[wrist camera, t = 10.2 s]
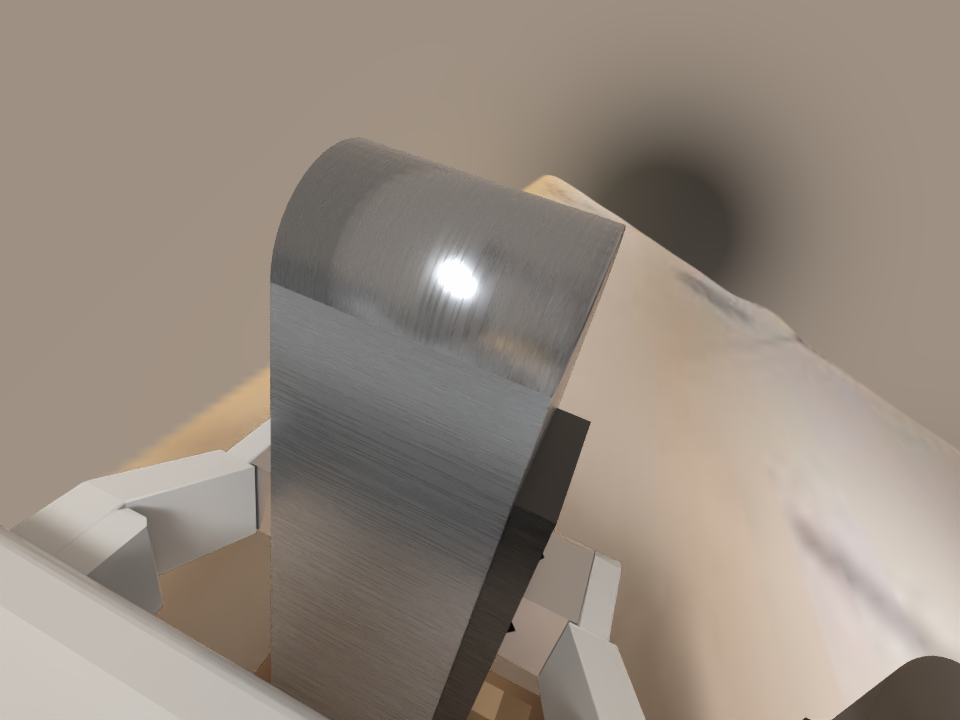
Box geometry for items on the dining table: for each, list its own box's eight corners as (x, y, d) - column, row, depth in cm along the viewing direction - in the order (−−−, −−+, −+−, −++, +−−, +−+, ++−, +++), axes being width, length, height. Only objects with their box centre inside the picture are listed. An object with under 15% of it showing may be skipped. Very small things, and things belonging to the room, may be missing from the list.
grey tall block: (472, 688, 14) (680, 215, 7) (423, 814, 12) (664, 293, 5) (342, 616, 15) (406, 128, 8) (271, 722, 13) (270, 152, 5)
